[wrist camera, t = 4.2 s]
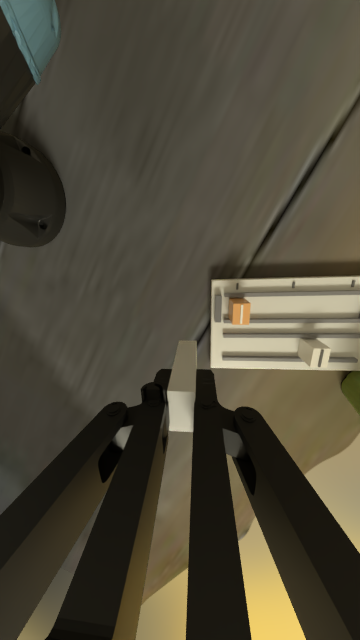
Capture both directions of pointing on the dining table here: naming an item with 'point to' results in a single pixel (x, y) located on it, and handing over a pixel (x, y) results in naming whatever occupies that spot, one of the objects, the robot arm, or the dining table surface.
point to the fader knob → (239, 311)
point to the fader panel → (288, 323)
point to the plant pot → (352, 389)
